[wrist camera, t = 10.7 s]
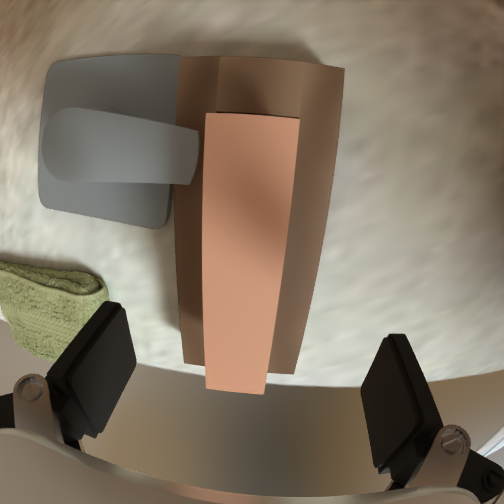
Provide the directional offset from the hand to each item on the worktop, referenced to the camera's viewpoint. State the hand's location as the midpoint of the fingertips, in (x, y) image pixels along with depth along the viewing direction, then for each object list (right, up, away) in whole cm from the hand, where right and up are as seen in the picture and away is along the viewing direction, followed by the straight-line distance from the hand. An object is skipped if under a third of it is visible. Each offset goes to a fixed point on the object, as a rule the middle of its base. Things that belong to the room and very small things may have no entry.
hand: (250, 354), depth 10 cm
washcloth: (-21, -3, +17) cm, 27 cm away
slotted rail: (0, +5, +11) cm, 12 cm away
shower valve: (-10, +12, +9) cm, 18 cm away
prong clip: (0, +5, +11) cm, 12 cm away
